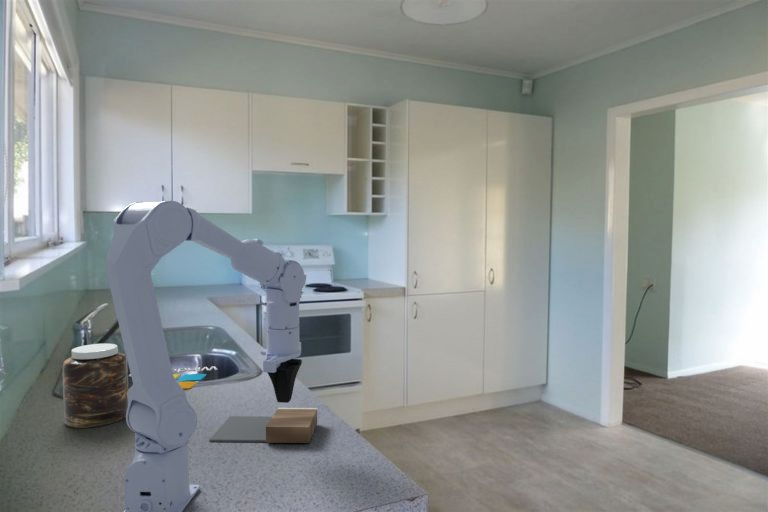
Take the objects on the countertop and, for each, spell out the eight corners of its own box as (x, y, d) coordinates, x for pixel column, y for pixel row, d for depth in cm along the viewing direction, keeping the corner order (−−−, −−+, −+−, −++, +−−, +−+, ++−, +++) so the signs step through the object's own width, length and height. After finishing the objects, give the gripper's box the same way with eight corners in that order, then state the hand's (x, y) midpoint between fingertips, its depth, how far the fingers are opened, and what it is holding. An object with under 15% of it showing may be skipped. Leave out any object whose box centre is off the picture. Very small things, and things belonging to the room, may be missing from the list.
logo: (217, 364, 153) (215, 385, 134) (217, 368, 153) (215, 389, 134) (131, 370, 147) (115, 393, 128) (131, 374, 147) (115, 397, 128)
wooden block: (308, 427, 99) (317, 408, 109) (265, 426, 100) (278, 407, 109) (309, 442, 99) (317, 422, 109) (266, 442, 100) (278, 422, 110)
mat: (304, 442, 101) (304, 440, 101) (209, 441, 101) (209, 439, 101) (315, 418, 113) (315, 417, 113) (229, 418, 113) (229, 416, 113)
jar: (105, 405, 122) (102, 339, 121) (140, 413, 116) (138, 344, 115) (52, 422, 111) (49, 350, 110) (88, 432, 106) (85, 357, 105)
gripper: (276, 318, 104) (276, 387, 105) (245, 334, 90) (246, 414, 91) (311, 319, 103) (312, 389, 104) (286, 335, 89) (287, 416, 89)
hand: (284, 401), depth 97 cm, fingers closed
